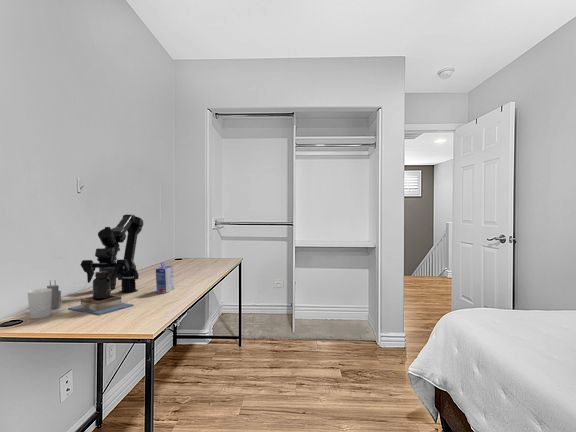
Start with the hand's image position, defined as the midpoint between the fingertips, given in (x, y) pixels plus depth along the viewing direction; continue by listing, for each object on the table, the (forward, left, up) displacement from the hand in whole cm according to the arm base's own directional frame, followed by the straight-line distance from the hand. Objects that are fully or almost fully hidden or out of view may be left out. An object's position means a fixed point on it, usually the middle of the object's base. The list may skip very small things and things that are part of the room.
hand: (99, 282), depth 155 cm
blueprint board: (-1, +1, -11) cm, 11 cm away
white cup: (-11, -18, -11) cm, 24 cm away
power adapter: (-18, -9, -11) cm, 23 cm away
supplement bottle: (-1, +1, -8) cm, 8 cm away
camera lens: (-31, +27, -11) cm, 43 cm away
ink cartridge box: (-1, +37, -11) cm, 39 cm away
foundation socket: (-1, +1, -11) cm, 11 cm away
